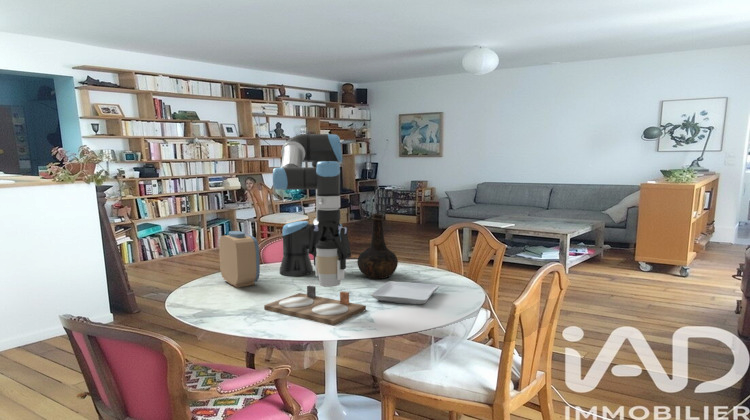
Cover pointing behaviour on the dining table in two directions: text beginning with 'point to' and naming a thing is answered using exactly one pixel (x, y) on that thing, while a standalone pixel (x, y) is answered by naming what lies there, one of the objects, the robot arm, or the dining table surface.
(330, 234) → the robot arm
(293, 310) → the tag board
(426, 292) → the salad plate
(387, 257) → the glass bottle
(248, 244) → the alarm clock
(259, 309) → the dining table surface
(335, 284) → the coffee cup
